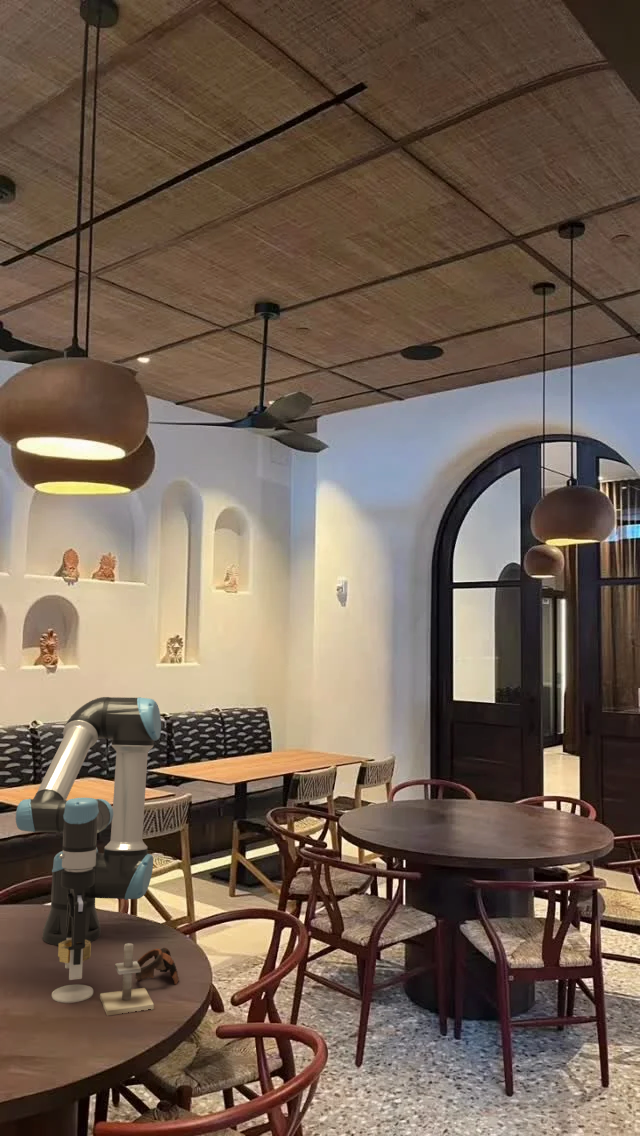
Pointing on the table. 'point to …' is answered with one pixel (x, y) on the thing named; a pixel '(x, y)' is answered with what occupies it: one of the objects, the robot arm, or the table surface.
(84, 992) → the coaster
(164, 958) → the brown black curved arch
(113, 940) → the table surface
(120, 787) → the robot arm
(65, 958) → the c link
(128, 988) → the peg stand
